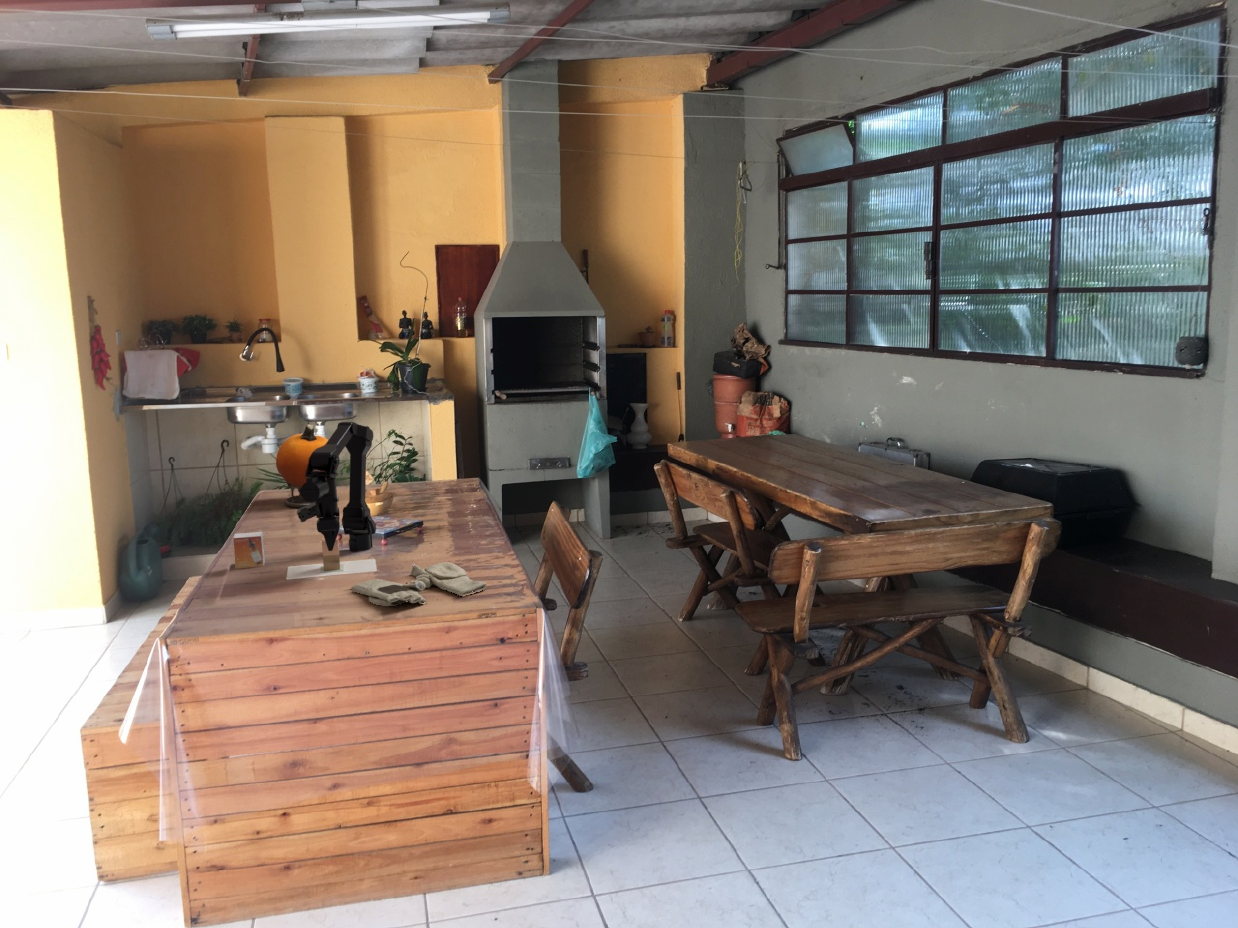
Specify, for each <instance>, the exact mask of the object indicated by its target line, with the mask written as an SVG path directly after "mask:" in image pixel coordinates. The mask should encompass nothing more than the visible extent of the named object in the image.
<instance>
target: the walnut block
mask: <svg viewBox="0 0 1238 928" xmlns="http://www.w3.org/2000/svg"><path fill="white" fill-rule="evenodd" d="M322 561H323V563H322V564H323V565H324V571H330V570H340V562H341V561H340V554H339V555H329V556H323V555H322Z"/></svg>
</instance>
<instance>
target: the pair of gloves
mask: <svg viewBox="0 0 1238 928" xmlns="http://www.w3.org/2000/svg"><path fill="white" fill-rule="evenodd" d="M410 575H411V576H413V577H414V576H415V580H410V582H409V583H404V584H403V583H400V582H395V581H389V580H385V579H381V578H380V579H379V578H376V579H375V578H374V579H369V580H365V581H362V582H359V583H356V584H354V585H352V587H351V590H352V592H353V593H355V592H357V593H356V594H359V593H360V595H363V594H364V595H363V596H368V602H369V603H370V602H371V603H370V604H372V603H373V604H372V605H374V604H376V605H375V606H378V605H382V606H381V607H383V606H395V605H398V604H400V605H402V604H401V603H403V602H406V601H409V602H408V603H411V604H415V603H419V604H420V605H421V604H422V603H424V602H428V600H426V599H425V598H424V597H423V596H422V595H421V594H420V593H422V592H423V591H424V590H426V589H425V588H427V589H429V588H431V587H433V586H435V587H438V588H439V589H441V590H442V591H446V590H447V591H446V592H449V593H451V592H452V593H451V594H453V593H455V594H457V595H456V596H458V595H460V596H463V595H466V594H470V593H473V592H477V591H480V590H483V591H485V590H486V588H487V582H483V581H481V580H472V579H471V578H470V577H469V576H467V575H468V573H467V571H466V570H465V569H463V568H462V567H460V566H458V565H457V564H455V563H453V562H449V561H448V562H446V561H444V562H438V563H436V564H431V565H429V566H426V567H424V568H420V566H419V565H417V564H413V565H412V568H411V571H410ZM472 591H473V592H472ZM455 594H454V595H455ZM460 596H459V597H460ZM398 606H399V605H398ZM395 607H396V606H395Z"/></svg>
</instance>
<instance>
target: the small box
mask: <svg viewBox="0 0 1238 928" xmlns="http://www.w3.org/2000/svg"><path fill="white" fill-rule="evenodd" d="M263 534H264V533H263V531H255V532H246V533H245V532H244V533H234V536H233V538H232V539H233V540H232V541H233V553H234V565H235V566H234V568H235V569H236V570H237V569H249V568H258V567H264V566H265V562H266V561H265V551H264V550H265V549H264V535H263Z"/></svg>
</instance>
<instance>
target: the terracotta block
mask: <svg viewBox="0 0 1238 928" xmlns="http://www.w3.org/2000/svg"><path fill="white" fill-rule="evenodd" d="M339 544H340V542H339V536H338V535H337V538H336V541H335V544H334V547H333V550H332V551H328V548H327V545H326V541H325V538H324V536H322V537H321V547H322V557H323V556H329V555H339V556H340V547H339Z"/></svg>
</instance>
